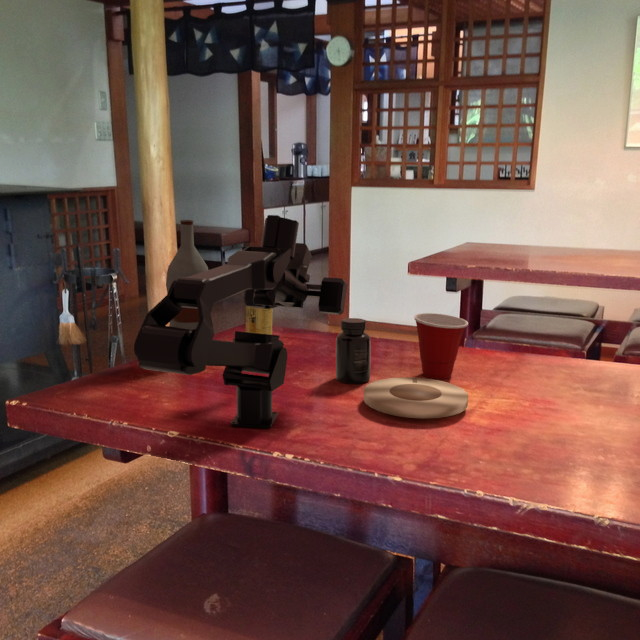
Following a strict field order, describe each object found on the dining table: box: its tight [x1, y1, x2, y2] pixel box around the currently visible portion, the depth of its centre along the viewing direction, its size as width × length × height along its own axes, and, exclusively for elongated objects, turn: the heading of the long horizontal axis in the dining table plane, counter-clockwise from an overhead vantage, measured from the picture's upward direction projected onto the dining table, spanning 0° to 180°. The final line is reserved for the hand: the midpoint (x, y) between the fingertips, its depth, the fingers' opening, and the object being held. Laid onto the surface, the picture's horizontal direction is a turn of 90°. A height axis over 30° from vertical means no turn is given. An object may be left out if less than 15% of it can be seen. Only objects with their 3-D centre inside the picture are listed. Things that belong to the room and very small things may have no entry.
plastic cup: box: [413, 312, 469, 380], centre depth 135 cm, size 11×11×12 cm
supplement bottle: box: [335, 317, 372, 385], centre depth 131 cm, size 7×7×12 cm
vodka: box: [165, 219, 209, 329], centre depth 142 cm, size 9×9×30 cm
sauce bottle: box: [245, 305, 274, 335], centre depth 156 cm, size 6×6×20 cm
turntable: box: [363, 376, 469, 419], centre depth 117 cm, size 18×18×2 cm
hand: (310, 302), depth 128 cm, fingers open, 9 cm apart
